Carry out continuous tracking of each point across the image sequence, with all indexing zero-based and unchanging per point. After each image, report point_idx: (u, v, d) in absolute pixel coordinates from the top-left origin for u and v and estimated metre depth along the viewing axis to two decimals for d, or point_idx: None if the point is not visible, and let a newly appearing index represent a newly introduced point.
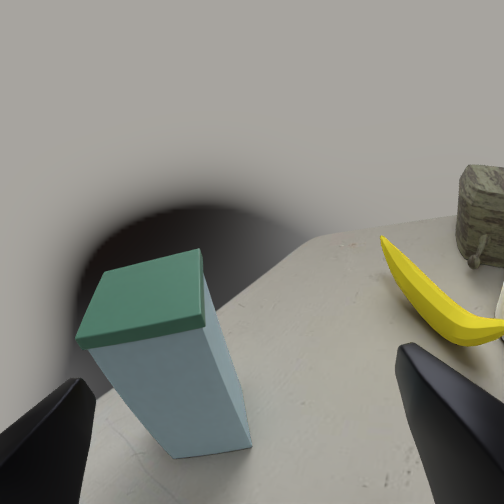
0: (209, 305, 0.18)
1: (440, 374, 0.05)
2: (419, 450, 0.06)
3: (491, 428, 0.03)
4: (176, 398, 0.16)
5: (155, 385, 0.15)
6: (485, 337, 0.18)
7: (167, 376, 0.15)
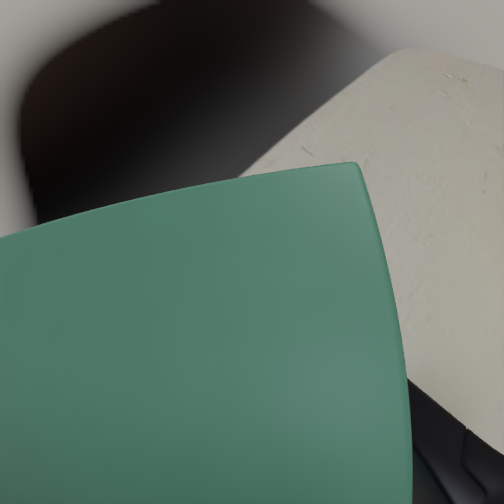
0: None
1: None
2: None
3: (442, 450, 0.04)
4: None
5: None
6: None
7: None
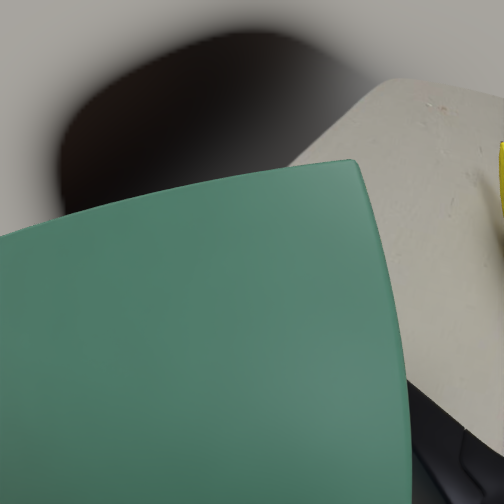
0: None
1: None
2: None
3: (440, 450, 0.04)
4: None
5: None
6: None
7: None
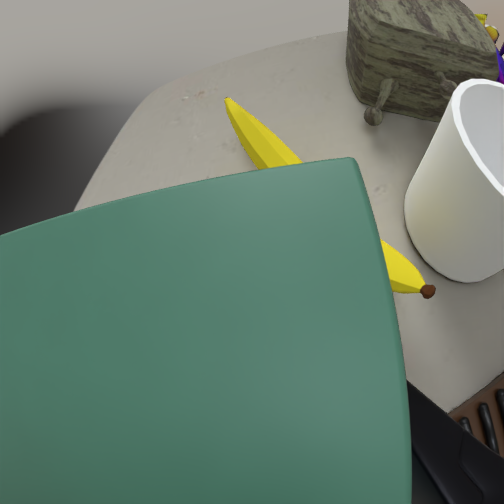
0: None
1: None
2: None
3: (439, 451, 0.04)
4: None
5: None
6: None
7: None
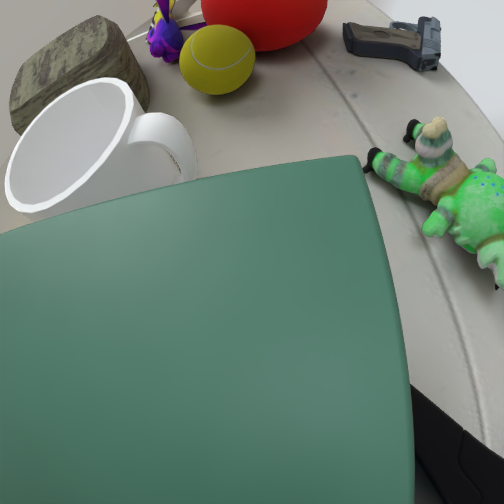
0: None
1: None
2: None
3: (439, 451, 0.04)
4: None
5: None
6: None
7: None
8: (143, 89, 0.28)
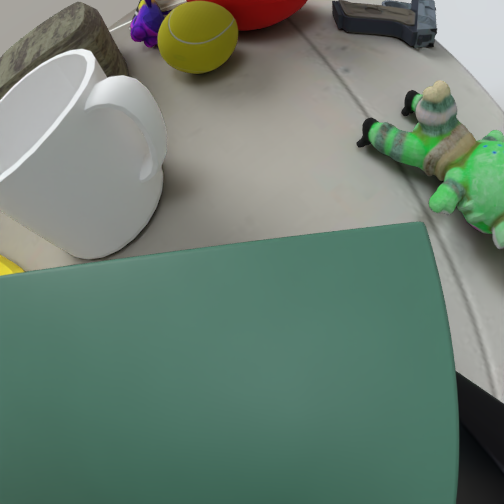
0: None
1: None
2: None
3: (491, 428, 0.03)
4: None
5: None
6: None
7: None
8: (122, 73, 0.25)
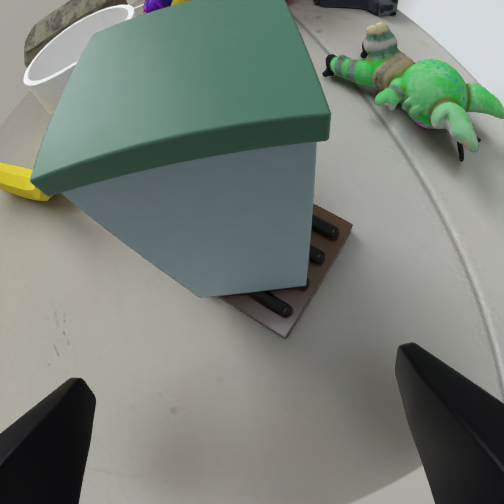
0: None
1: (440, 374, 0.05)
2: (419, 450, 0.06)
3: (491, 428, 0.03)
4: (223, 243, 0.10)
5: (190, 229, 0.09)
6: None
7: (215, 217, 0.09)
8: None
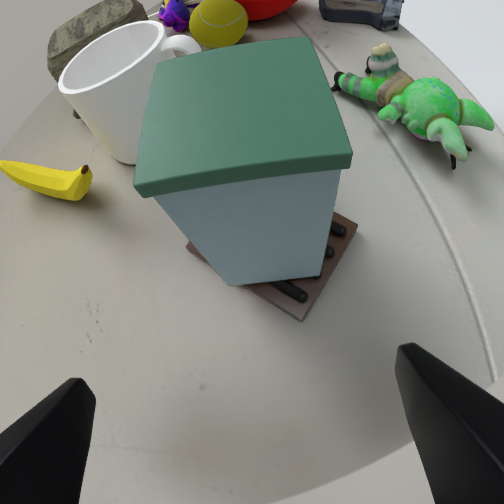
0: None
1: (440, 374, 0.05)
2: (419, 450, 0.06)
3: (491, 428, 0.03)
4: (263, 237, 0.14)
5: (242, 225, 0.12)
6: (77, 190, 0.23)
7: (263, 217, 0.12)
8: None
